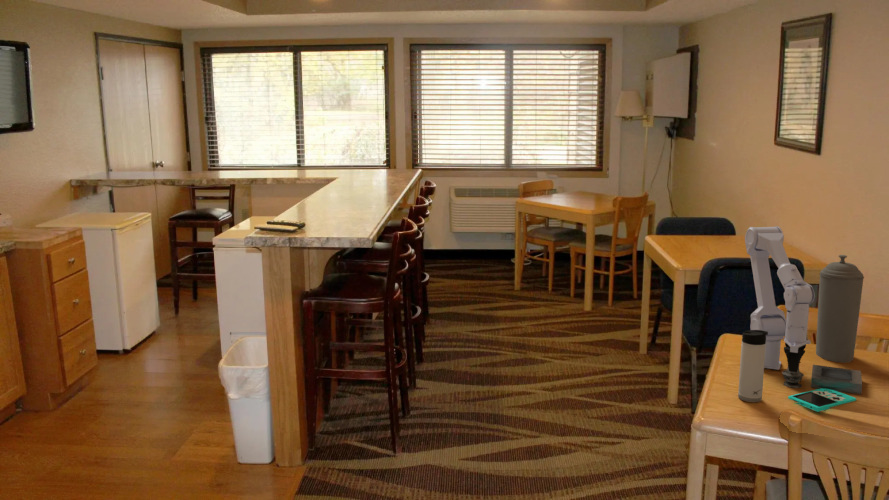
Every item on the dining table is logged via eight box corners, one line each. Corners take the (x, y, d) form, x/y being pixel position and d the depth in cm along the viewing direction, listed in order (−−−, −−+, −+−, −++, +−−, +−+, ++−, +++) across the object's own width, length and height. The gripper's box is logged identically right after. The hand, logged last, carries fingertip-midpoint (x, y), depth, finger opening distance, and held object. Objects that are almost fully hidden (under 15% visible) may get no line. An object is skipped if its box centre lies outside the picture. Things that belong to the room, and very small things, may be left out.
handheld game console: (857, 402, 203) (857, 397, 203) (818, 412, 197) (818, 407, 196) (825, 390, 212) (825, 386, 212) (787, 400, 206) (787, 395, 205)
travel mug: (761, 404, 201) (766, 335, 198) (736, 399, 205) (740, 331, 201) (764, 397, 206) (769, 329, 203) (740, 392, 210) (744, 326, 206)
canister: (864, 365, 232) (875, 258, 226) (826, 366, 232) (836, 259, 226) (840, 353, 245) (849, 251, 239) (804, 354, 244) (812, 252, 238)
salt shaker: (805, 389, 212) (808, 349, 210) (783, 387, 213) (786, 348, 211) (799, 382, 218) (802, 343, 216) (778, 380, 219) (781, 342, 217)
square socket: (810, 387, 214) (811, 377, 213) (812, 373, 225) (812, 364, 224) (861, 394, 208) (862, 384, 207) (860, 380, 219) (860, 370, 218)
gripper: (811, 333, 204) (807, 378, 207) (812, 320, 217) (809, 364, 219) (783, 329, 208) (780, 375, 210) (786, 317, 220) (783, 360, 222)
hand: (793, 369), depth 215 cm, fingers closed on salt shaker, 3 cm apart
